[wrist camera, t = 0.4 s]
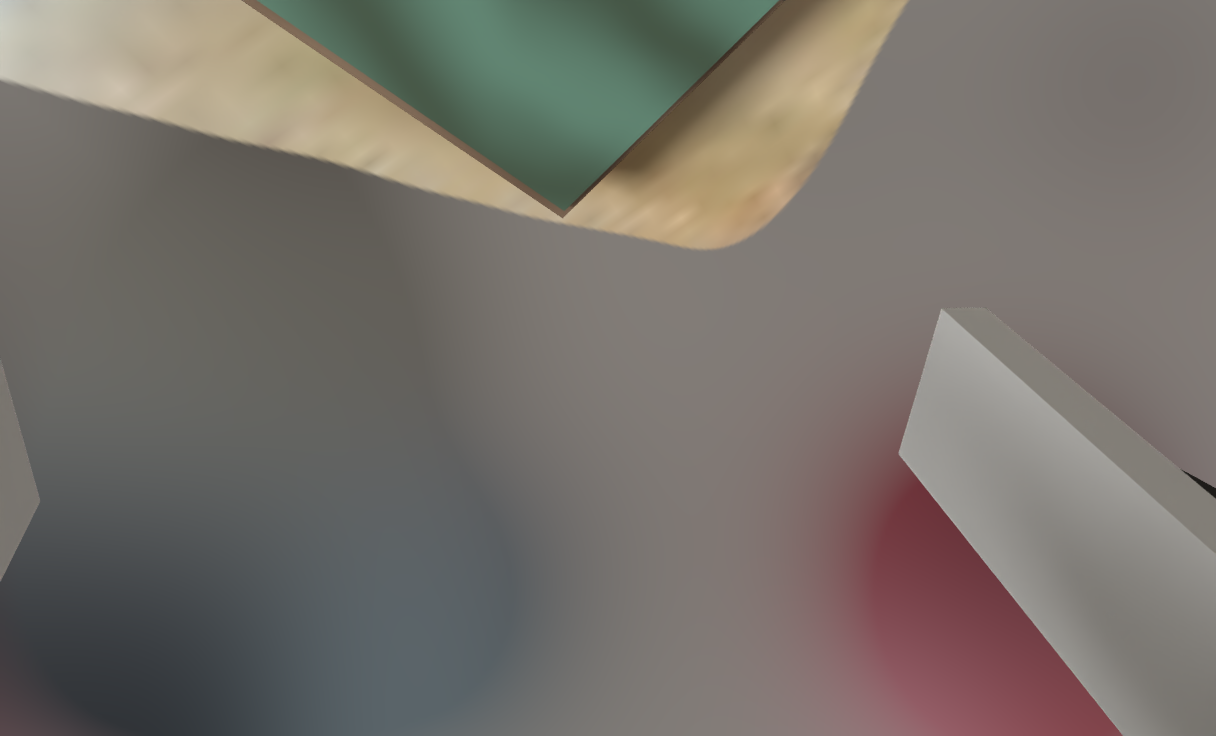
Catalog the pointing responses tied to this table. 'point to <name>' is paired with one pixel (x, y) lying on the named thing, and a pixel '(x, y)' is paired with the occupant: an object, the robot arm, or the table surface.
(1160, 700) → the robot arm
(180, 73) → the table surface
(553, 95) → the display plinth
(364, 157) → the table surface
